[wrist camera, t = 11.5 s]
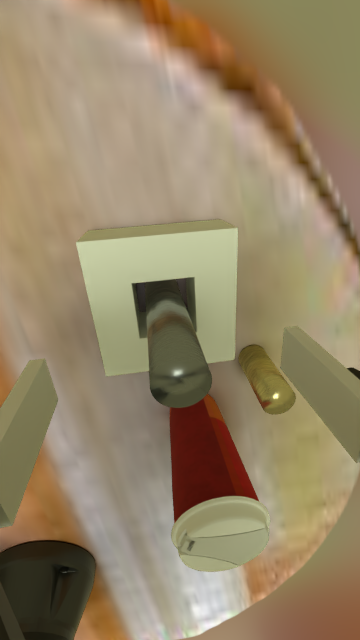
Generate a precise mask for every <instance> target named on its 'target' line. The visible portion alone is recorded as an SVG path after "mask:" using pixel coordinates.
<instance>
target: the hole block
mask: <svg viewBox="0 0 360 640" xmlns="http://www.w3.org/2000/svg"><path fill="white" fill-rule="evenodd" d="M76 245H77V249H78V254H79V258H80V263H81V267H82V272H83V276H84V281H85V285H86V289H87V294H88V298H89V303H90V307H91V312H92V316H93V321H94V325H95V329H96V334H97V338H98V343H99V347H100V352H101V356H102V361H103V365H104V369H105V374H106V377H107V376H114V375H122V374H130V373H137V372H145V371H149V357H148V338H147V319H146V312H141V313H140V312H139V305H138V297H137V290H136V283H141V282H150V281H160V280H170V279H179V278H186V289H187V306H188V307H186V308H187V311H188V314H189V316H190V319H191V322H192V324H193V327H194V330H195V332H196V335H197V338H198V340H199V343H200V346H201V349H202V351H203V354H204V357H205V359H206V362H207V363H214V362H222V361H230V360H235V332H236V291H237V250H238V228H237V227H235V226H233V225H231V224H229V223H227V222H225V221H222V220H220V219H217V220H206V221H194V222H183V223H171V224H160V225H148V226H136V227H125V228H113V229H102V230H90V231H87V232H86V233H85V234H84V235H83V236H82V237H81V238H80V239H79V240H78V241H77V242H76Z"/></svg>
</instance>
